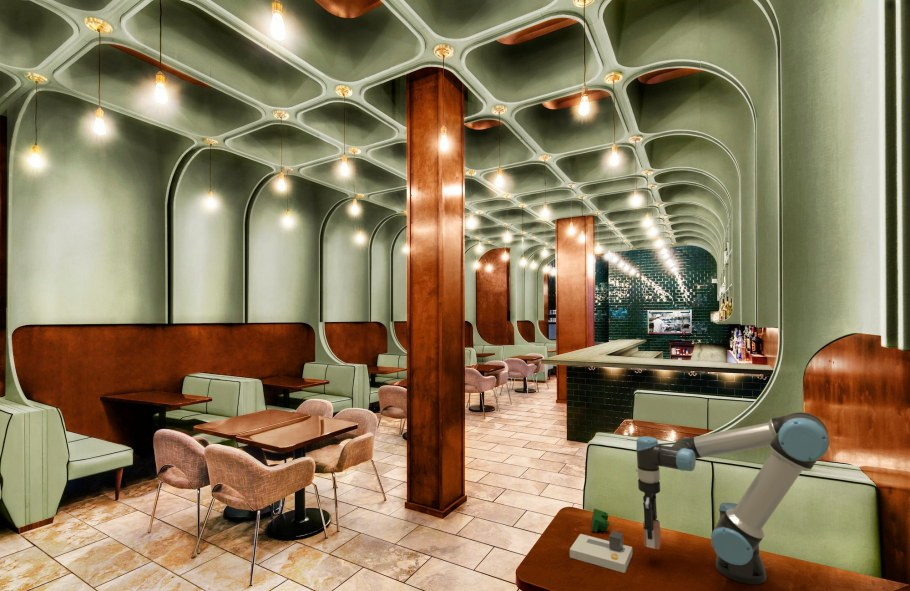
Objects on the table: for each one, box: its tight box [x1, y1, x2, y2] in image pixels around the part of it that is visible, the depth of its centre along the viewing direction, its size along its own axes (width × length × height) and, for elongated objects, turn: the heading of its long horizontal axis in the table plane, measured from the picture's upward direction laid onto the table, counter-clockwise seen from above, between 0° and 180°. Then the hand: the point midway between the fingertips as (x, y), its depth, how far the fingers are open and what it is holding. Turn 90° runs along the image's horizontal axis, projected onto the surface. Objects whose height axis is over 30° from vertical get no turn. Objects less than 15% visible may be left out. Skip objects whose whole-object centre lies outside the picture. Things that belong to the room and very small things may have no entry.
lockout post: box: [642, 520, 662, 550], centre depth 164 cm, size 5×5×8 cm
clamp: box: [591, 508, 610, 533], centre depth 191 cm, size 12×6×9 cm, turn 158°
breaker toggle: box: [608, 530, 624, 552], centre depth 169 cm, size 4×5×5 cm
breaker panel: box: [569, 533, 633, 574], centre depth 169 cm, size 20×14×4 cm
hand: (652, 543), depth 164 cm, fingers closed on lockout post, 5 cm apart
